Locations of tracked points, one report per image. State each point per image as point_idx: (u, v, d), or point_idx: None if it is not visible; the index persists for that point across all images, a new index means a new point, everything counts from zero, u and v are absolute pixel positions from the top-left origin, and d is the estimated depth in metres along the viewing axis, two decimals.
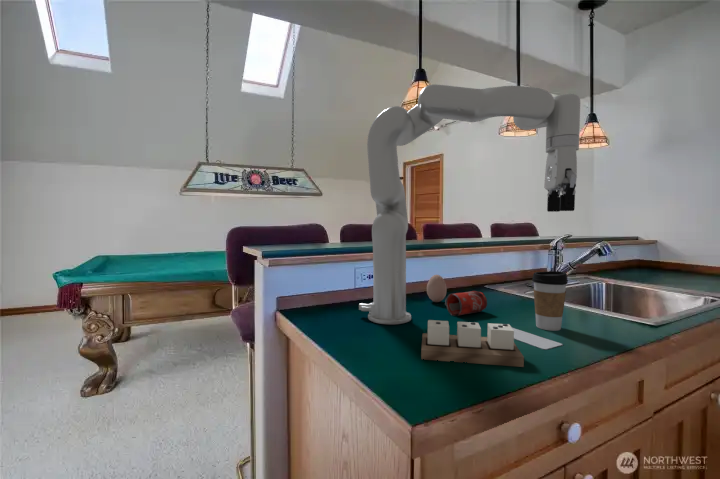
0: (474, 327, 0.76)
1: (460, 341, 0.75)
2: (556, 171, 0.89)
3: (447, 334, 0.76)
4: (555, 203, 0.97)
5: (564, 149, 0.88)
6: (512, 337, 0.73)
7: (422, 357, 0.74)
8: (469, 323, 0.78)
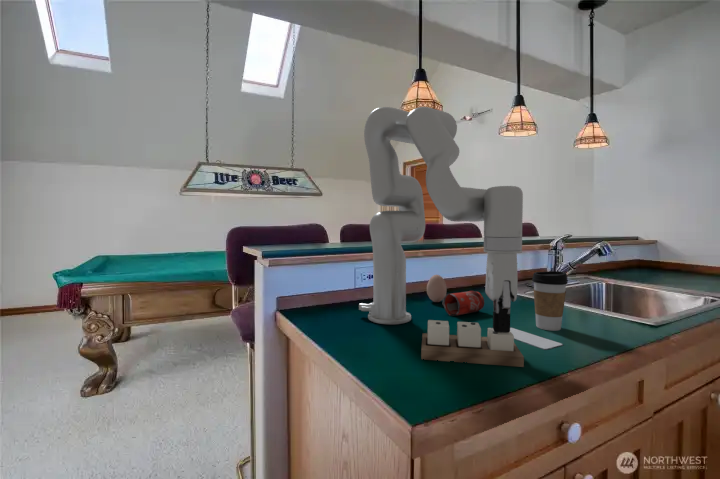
0: (474, 327, 0.76)
1: (460, 341, 0.75)
2: (492, 282, 0.71)
3: (447, 334, 0.76)
4: None
5: (502, 256, 0.70)
6: (512, 342, 0.73)
7: (422, 357, 0.74)
8: (469, 323, 0.78)
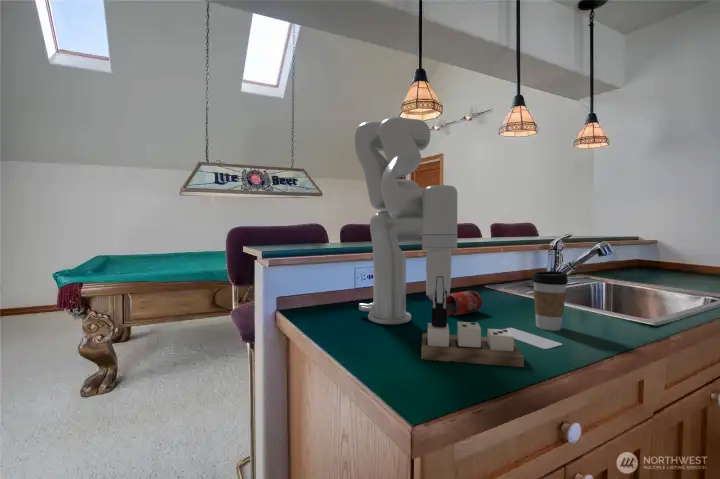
0: (474, 327, 0.76)
1: (460, 341, 0.75)
2: (427, 278, 0.74)
3: (447, 337, 0.76)
4: None
5: (435, 253, 0.73)
6: (512, 343, 0.73)
7: (422, 357, 0.74)
8: (469, 323, 0.78)
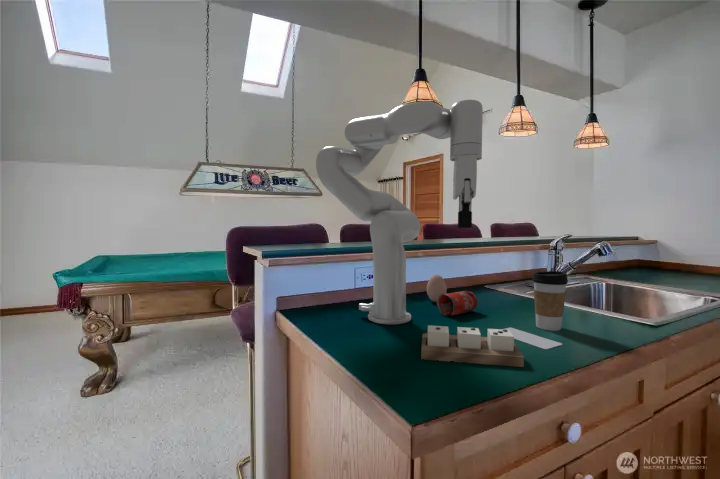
0: (474, 332, 0.76)
1: (460, 347, 0.76)
2: (456, 181, 0.84)
3: (447, 340, 0.76)
4: None
5: (463, 158, 0.83)
6: (512, 343, 0.73)
7: (422, 357, 0.74)
8: (469, 328, 0.78)
